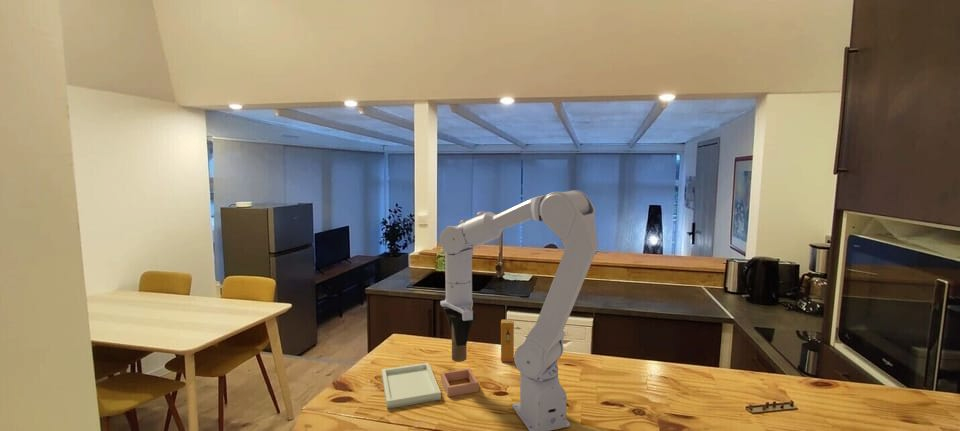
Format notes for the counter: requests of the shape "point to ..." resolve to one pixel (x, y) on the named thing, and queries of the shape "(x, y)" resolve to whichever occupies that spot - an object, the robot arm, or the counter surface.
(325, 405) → the counter surface
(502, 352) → the supplement box
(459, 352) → the dowel
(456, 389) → the holder
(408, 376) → the tray
